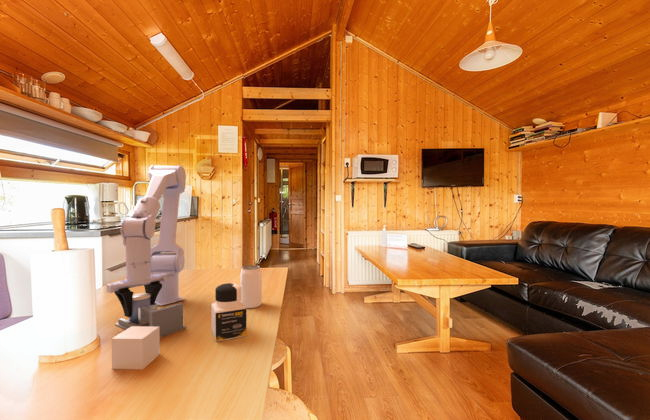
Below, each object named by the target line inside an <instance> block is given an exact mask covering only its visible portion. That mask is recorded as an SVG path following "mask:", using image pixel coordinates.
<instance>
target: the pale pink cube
mask: <svg viewBox="0 0 650 420" xmlns="http://www.w3.org/2000/svg"><path fill="white" fill-rule="evenodd" d="M160 338H161V337H160V332H159V327H148V326H131V327H130V328H128V329H126V330H125V329H124V330H123V331H122V332H120V333H118V334H117V335H115V336H113V337H112V338H111V370H112V369H113V370H144V369H145V368H146V367H147V366H148V365H150V364H151V362H153V361H154V360H155V359H156V358H157V357H158V356H160V354H161V353H160V352H161V350H160V349H161V348H160V347H161V345H160V344H161V343H160V342H161V340H160Z"/></svg>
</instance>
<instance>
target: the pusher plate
mask: <svg viewBox="0 0 650 420" xmlns="http://www.w3.org/2000/svg"><path fill="white" fill-rule="evenodd" d="M158 307H159V305H158V304H157V303H154V304H150V305H147V306H143V307H139V308H138V325H140V326H141V325H144V324H147V323H150V317H149V312H150V311H154V310H157V309H159V308H158Z"/></svg>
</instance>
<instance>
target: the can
mask: <svg viewBox="0 0 650 420" xmlns="http://www.w3.org/2000/svg"><path fill="white" fill-rule="evenodd" d="M239 274H240V276H239V280H240V282H239V285H240V286H241V301H242V303H243V304H244V305H245V306H246V309H247V310H249V309H256V308H260V306H261V305H262V297H263V295H262V294H263V292H262V289H263V288H262V287H263V284H262V283H263V282H262V281H263V280H262V278H263V277H262V276H263V275H262V274H263V273H262V270H261V266H260V265H256V264H255V265H253V264H250V265H243V266H242V267H241V270H240V273H239Z"/></svg>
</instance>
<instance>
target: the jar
mask: <svg viewBox="0 0 650 420" xmlns="http://www.w3.org/2000/svg"><path fill="white" fill-rule="evenodd" d="M150 297H151V294H150V293H146V292H140V293H135V294H134V293H133V297H132V315H131V317H128V320H129V321H130V322H133V323H138V308H139V307H143V306H147V305H150V304H151V303H150Z"/></svg>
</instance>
